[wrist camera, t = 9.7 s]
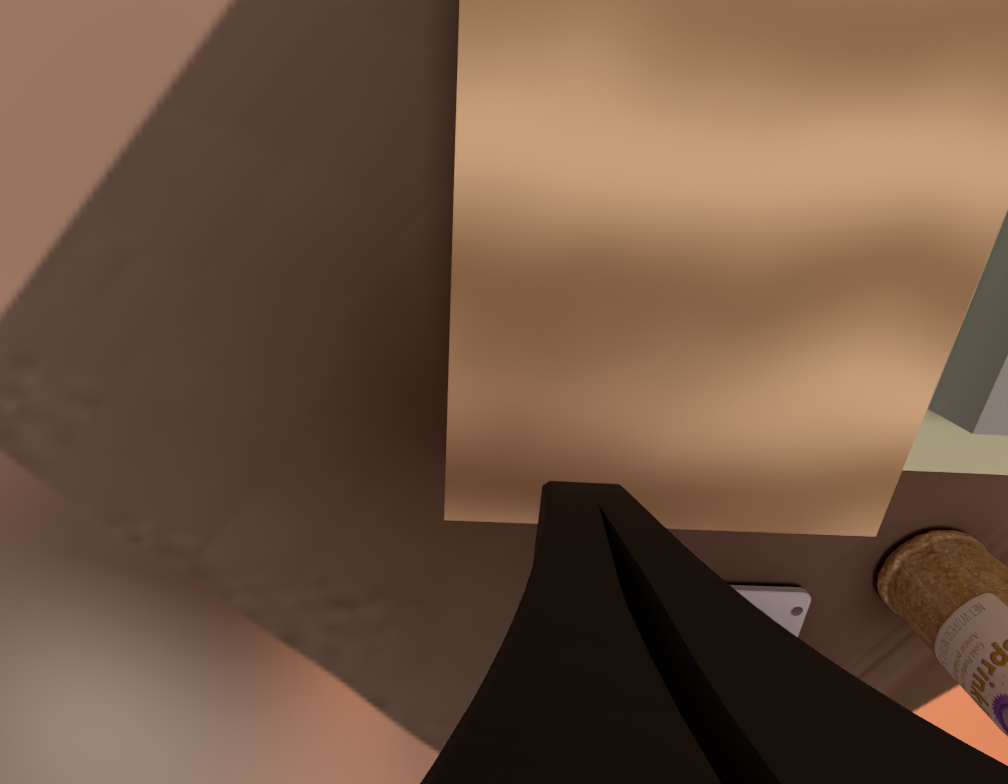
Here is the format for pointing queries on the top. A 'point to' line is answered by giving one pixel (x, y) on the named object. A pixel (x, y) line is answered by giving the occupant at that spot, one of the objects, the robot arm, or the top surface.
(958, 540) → the sprinkles bottle
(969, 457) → the mat
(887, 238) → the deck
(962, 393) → the grey rectangular block
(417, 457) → the top surface
